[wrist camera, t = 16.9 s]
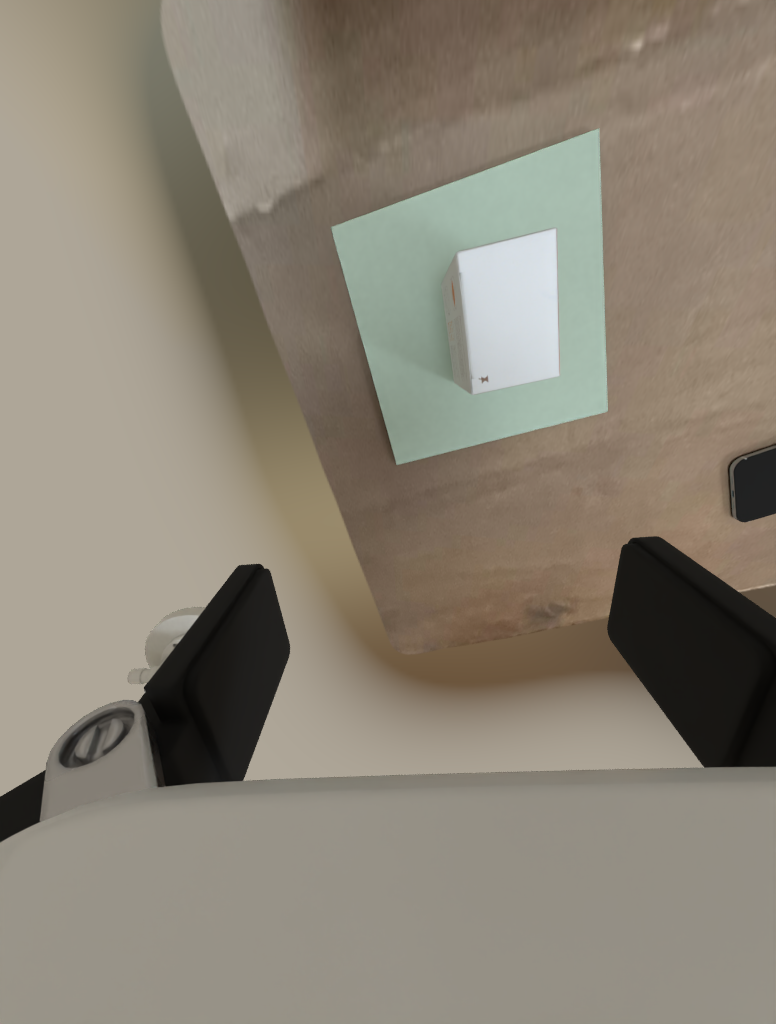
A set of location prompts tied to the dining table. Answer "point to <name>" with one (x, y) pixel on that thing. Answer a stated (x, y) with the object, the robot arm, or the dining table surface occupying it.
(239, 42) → the dining table surface
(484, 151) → the dining table surface
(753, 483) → the smartphone
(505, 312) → the small box
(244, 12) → the dining table surface
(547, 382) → the mat
